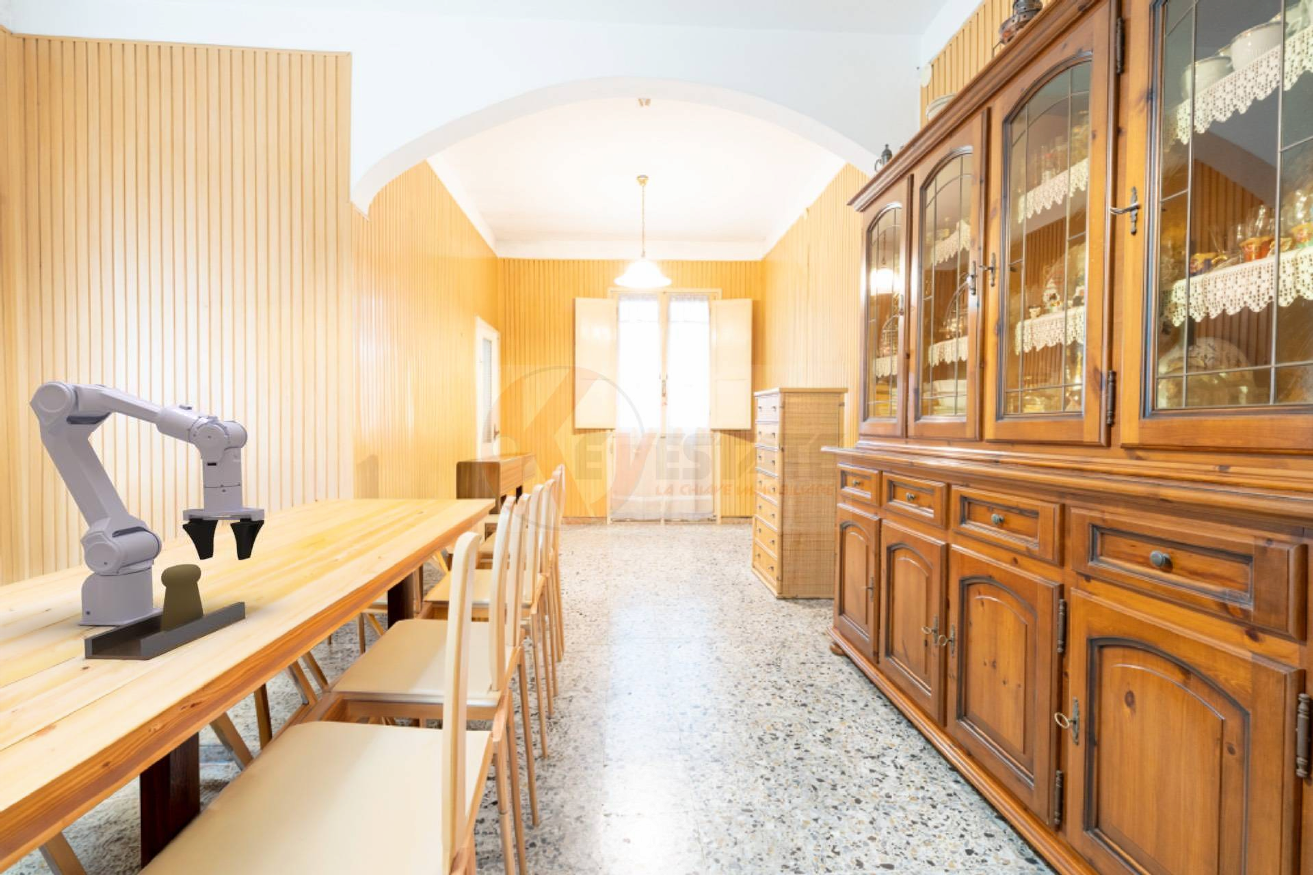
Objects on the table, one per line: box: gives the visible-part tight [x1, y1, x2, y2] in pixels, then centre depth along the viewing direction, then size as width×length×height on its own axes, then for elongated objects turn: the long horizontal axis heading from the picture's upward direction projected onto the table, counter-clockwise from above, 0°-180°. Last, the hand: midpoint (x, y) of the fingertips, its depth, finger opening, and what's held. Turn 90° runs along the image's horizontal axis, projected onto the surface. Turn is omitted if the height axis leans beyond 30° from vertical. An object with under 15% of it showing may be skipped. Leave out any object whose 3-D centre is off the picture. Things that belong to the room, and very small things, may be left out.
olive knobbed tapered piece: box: [160, 563, 205, 632], centre depth 95 cm, size 6×6×11 cm
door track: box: [83, 601, 246, 661], centre depth 93 cm, size 10×18×3 cm, turn 176°
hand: (225, 558), depth 104 cm, fingers open, 7 cm apart
